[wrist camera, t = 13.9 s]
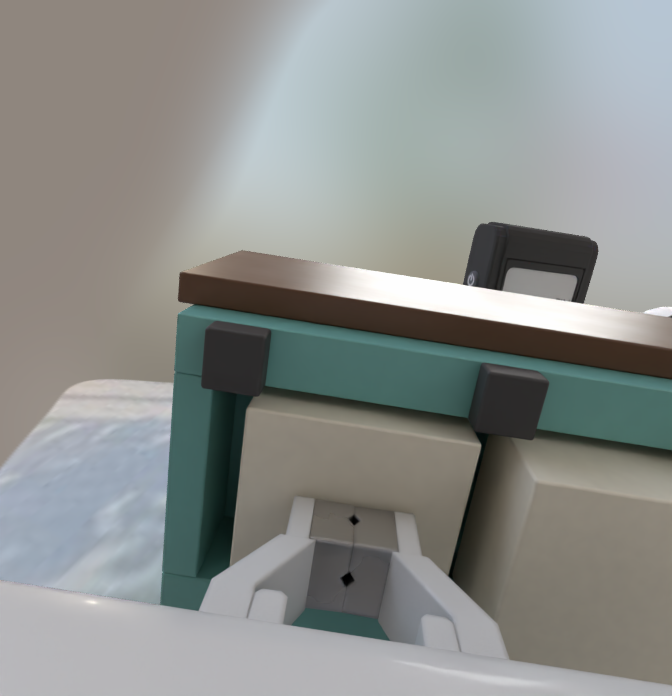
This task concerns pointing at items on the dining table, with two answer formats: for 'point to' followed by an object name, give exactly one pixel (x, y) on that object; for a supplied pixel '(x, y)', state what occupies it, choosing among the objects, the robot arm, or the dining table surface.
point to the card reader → (531, 262)
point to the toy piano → (385, 380)
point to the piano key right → (574, 552)
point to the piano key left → (352, 466)
